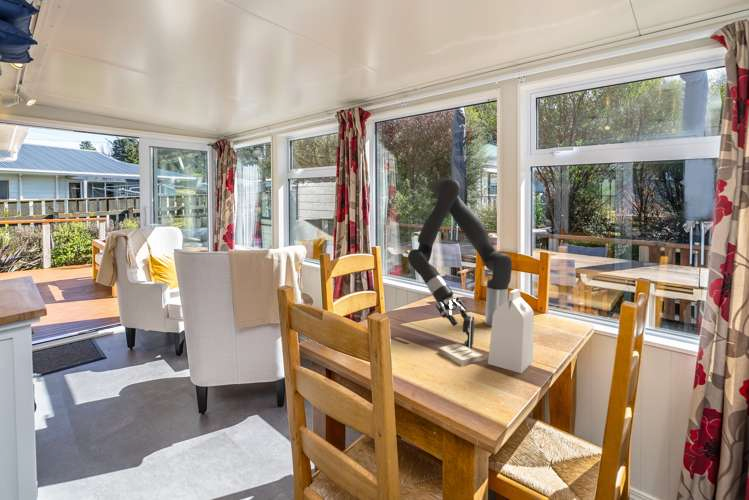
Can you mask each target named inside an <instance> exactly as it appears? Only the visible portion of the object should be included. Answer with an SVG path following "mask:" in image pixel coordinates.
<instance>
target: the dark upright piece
mask: <svg viewBox="0 0 749 500" xmlns="http://www.w3.org/2000/svg"><path fill="white" fill-rule="evenodd" d="M462 332H463V333H465V334H466V337H467V339H466V340H465V341H464V343H463V345H464V346H466V347H468V348H470V349H473V345H474V339H475V338H474V335H475V333H474V332H475V316H470V315H468V316H466V317H465V319H463V323H462Z"/></svg>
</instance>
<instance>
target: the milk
mask: <svg viewBox="0 0 749 500" xmlns="http://www.w3.org/2000/svg"><path fill="white" fill-rule="evenodd" d="M508 294H509V295H508V298H507V302H505V303H504V304H503V305H501V306H500V307H499V308H498V309H496V310H495V311H494V313H493V321H492V326H491V331H490V342H489V351H488V360H487V364H488V365H491V366H494V367H498V368H502V369H505V370H509V371H512V372H516V373H519V374H522V373H523V372H524V371H525V370H526V369H527V368H528V367H529V366H531V364H532V363H533V361H534V325H535V324H534V321H535V318H534V316H535V313H534V310H533V309H532V307H531V306H530V305H529V303H528V302H526V301H525V300H524V299H523V297H521V290H520V289H518V288H515V289H512V290H511V291H509V292H508Z"/></svg>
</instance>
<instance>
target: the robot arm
mask: <svg viewBox="0 0 749 500" xmlns="http://www.w3.org/2000/svg"><path fill="white" fill-rule="evenodd" d="M433 193H434V195H435V197H436V199H437V202H436V204H435V206H434V208H433V210H432V211H431V213H430V214H429V216H428V217H427V218H426V220H425V222H424V223H423V225H422V228H421V230H420V231H419V235H418V237H417V242H418V248H417V249H412V250H410V251H409V253H408V254H407V260H408V262H409V264H410V266H411V267H412V269H414V271H416V273H417V274H418V275H419V276H420V277H421V279H422V280H423V282H424V284H425V285H426V287H427V289H428V290H429V292H430V293H431V295H432V297H433V298H434V300H435V301H436V303H437V304H435V308H436V309H437V310H438V312H439V314H440V315H441V317H442V318H443V319H445V318H446V319H447V320H448V322H450V324H451V325H452V326H453V327H456V326H457V325H458V321H457V320H456V317H455V316H454V315H453V313H452V311H454V312H458V313H459V314H460V316H461V318H462V319H463V320H464V319H465V317H466V316H469V315H468V314H467V312H466V310H467V309H468V307H467V305H466V304H465V302H463V300H462V299H461V298H460V296H457V297H455V298H454V296H453V295H454V292H453V290H452V289H451V287H450V286H449V284H448V283H447V282H446V281H445V279H444V278H443V277H442V276H441V274H440V273H439V271H438V270H437V269H436V267H435V266H433V265H432V264H430V260H431V256H432V252H433V246H434V243H435V242H436V241H435V240H436V239H437V237H438V234H439V231H440V229H441V227H442V225H443V222H444V220H445V219H446V217H447V215H448V213H450V215H451V216H452V218H453V219H454V221H455V223H456V225H458V227H459V228H460V230H461V232H462V233H463V235H464V236H465V237H466V239H467V240H468V241H469V243H470V244H471V245H472V247H473V248H474V249H475V251H476V252H477V253H478V256H479V257H480V259H481V260H482V262H483V264H484V266H485V267H486V269H487V270H488V271H490V272H492V276H491V279H489V280H487V282H486V297H485V298H486V302H485V317H484V318H485V319H484V324H485V325H487V326H489V327H492V321H493V313H494V311H495V310H496V309H498V308H499V307H500V306H501V305H503V304H504V303H505V302H507V301H508V299H509V295H508V294H509V292H508V291H509V286H510V285H509V284H510V283H511V280H512V279H511V278H512V272H513V271H512V269H513V261H512V258H511V257H510V256H509V254H506V253H503V252H499V251H497V250H496V249H495V247H494V246H493V244H492V243H491V242H490V240H489V235H488V231H487V228H486V226H485V224H484V223H483V221H482V220H481V218H480V217H479V216H478V215H477V213H475V211H474V210H472V209H471V208H470V207H469V206H467V204H466V203H465V202H464V201H463V200H462V199H461V197H460V196H459V195H460V193H461V185H460V183H459V182H458V181H457V180H456V179H453V178H440V179H438V180H436V181H435V183H434V185H433Z"/></svg>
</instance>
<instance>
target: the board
mask: <svg viewBox="0 0 749 500" xmlns="http://www.w3.org/2000/svg"><path fill="white" fill-rule="evenodd" d="M437 349H438V351H437V353H438V354H440V355H442V356H444V357H445V358H447V359H448V360H451V361H452V362H454V363H456V364H458V365H460V366H461V367H463V366H467V365H470V364H475V363H479V362H482V361H484V357H485V356H484V354H482V353H480V352H478V351H477V350H475V349H473V348H468V347H466V346H464V344H462V343H459V342H457V343H453V344H449V345H444V346H440V347H437Z"/></svg>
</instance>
